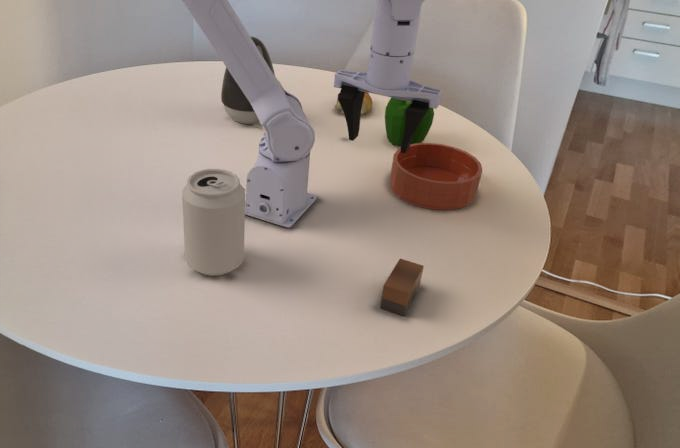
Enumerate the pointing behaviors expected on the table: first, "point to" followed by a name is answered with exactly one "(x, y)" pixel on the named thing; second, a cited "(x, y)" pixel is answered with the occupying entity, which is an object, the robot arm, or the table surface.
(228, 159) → the table surface
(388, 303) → the eraser
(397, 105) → the bell pepper
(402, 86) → the robot arm
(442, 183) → the bowl
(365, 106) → the pastry
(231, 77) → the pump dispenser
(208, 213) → the can
